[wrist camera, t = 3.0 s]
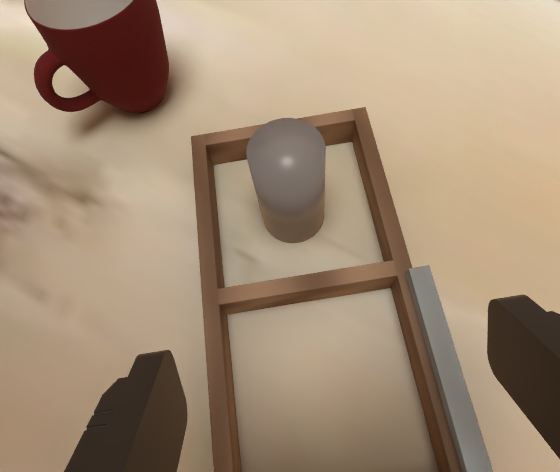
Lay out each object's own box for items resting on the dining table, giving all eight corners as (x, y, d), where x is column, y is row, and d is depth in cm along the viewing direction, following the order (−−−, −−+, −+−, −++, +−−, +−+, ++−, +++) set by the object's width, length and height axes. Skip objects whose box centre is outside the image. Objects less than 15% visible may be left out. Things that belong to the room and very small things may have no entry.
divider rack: (228, 535, 23) (214, 553, 20) (199, 156, 34) (187, 127, 30) (478, 496, 23) (504, 508, 20) (371, 127, 33) (376, 95, 30)
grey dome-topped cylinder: (267, 247, 30) (251, 190, 23) (259, 194, 32) (242, 125, 24) (329, 237, 30) (332, 176, 23) (318, 184, 32) (317, 112, 24)
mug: (117, 170, 34) (43, 75, 25) (55, 123, 36) (-33, 21, 27) (207, 86, 37) (170, -27, 27) (143, 47, 39) (91, -67, 30)
